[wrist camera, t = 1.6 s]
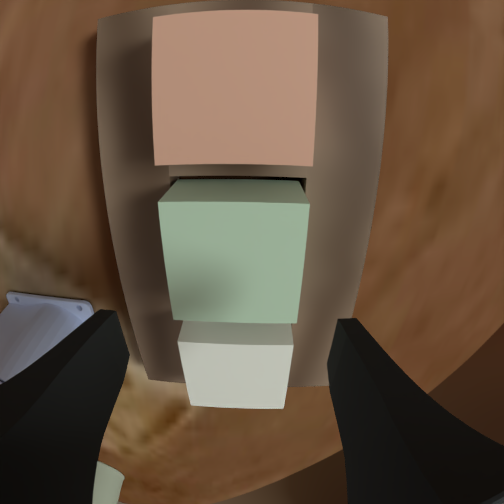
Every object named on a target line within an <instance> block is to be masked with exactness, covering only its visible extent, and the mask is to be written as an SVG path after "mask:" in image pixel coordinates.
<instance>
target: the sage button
mask: <svg viewBox="0 0 504 504" xmlns="http://www.w3.org/2000/svg"><path fill="white" fill-rule="evenodd" d="M309 208H310V203H309V201H308V199H307V197H306V195H305V193H304V191H303V189H302V187H301V185H300V183H299V181H289V180H255V179H180V180H177V181H176V182H175V183H174V184H173V186H172V187H171V188H170V189H169V190H168V191H167V192H166V193H165V194H164V196H163V197H162V198H161V199H160V200H159V201H158V209H159V219H160V228H161V237H162V245H163V253H164V261H165V268H166V276H167V282H168V289H169V296H170V302H171V308H172V314H173V320H187V321H207V322H232V323H297V317H298V309H299V302H300V294H301V285H302V277H303V268H304V259H305V250H306V240H307V230H308V219H309Z"/></svg>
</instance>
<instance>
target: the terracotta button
mask: <svg viewBox="0 0 504 504" xmlns="http://www.w3.org/2000/svg"><path fill="white" fill-rule="evenodd" d="M317 72H318V14H313V13H304V12H292V11H276V10H217V11H201V12H189V13H180V14H171V15H164V16H157V17H153V29H152V121H153V143H154V160H155V166H157V165H184V164H265V165H293V166H312V167H313V156H314V140H315V122H316V101H317Z"/></svg>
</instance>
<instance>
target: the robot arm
mask: <svg viewBox="0 0 504 504" xmlns="http://www.w3.org/2000/svg"><path fill="white" fill-rule="evenodd" d="M6 297H7V300H8V302H9V304H8V305H7V306H6V308H5V309H4V310H3V311H2V312H1V313H0V504H92V502H93V490H94V481H95V474H96V468H97V462H98V457H99V452H100V447H101V443H102V439H103V436H104V432H105V430H106V427H107V424H108V421H109V419H110V416H111V413H112V411H113V408H114V405H115V403H116V400H117V397H118V395H119V392H120V389H121V387H122V384H123V381H124V377H125V373H126V369H127V365H128V361H129V356H130V354H129V351H128V348H127V345H126V342H125V339H124V336H123V332H122V329H121V326H120V322H119V319H118V316H117V312H116V311H113V310H103V309H100V310H99V311H97V312H96V313H94V311H93V308H92V306H91V304H90V303H89V302H88V301H84V300H75V299H65V298H56V297H48V296H40V295H32V294H24V293H17V292H8V293H7V294H6ZM80 306H81V307H80ZM327 370H328V380H329V388H330V394H331V398H332V402H333V407H334V411H335V415H336V419H337V424H338V428H339V432H340V437H341V441H342V446H343V451H344V457H345V467H346V478H347V495H348V504H502V503H504V446H503V445H501V444H499V443H497V442H495V441H493V440H491V439H490V438H488V437H486V436H484V435H482V434H481V433H479V432H477V431H476V430H474V429H472V428H471V427H469V426H468V425H466V424H465V423H463V422H462V421H461V420H459V419H458V418H456V417H455V416H453V415H452V414H451V413H449V412H448V411H447V410H445V409H444V408H443V407H442V406H440V405H439V404H438V403H437V402H436V401H434V400H433V399H432V398H431V397H430V396H428V395H427V394H426V393H425V392H424V391H423V390H422V389H421V388H420V387H419V386H418V385H417V384H416V383H415V382H414V381H413V380H412V379H411V378H409V377H408V376H407V375H406V374H405V373H404V371H403V370H402V369H401V368H400V367H399V366H398V365H397V364H396V363H395V362H394V361H393V360H392V359H391V358H390V356H389V355H388V354H387V353H386V352H385V351H384V350H383V349H382V347H381V346H380V345H379V344H378V343H377V342H376V340H375V339H374V338H373V337H372V336H371V335H370V333H369V332H368V331H367V330H366V329H365V328H364V326H363V325H362V324H361V323H360V322H359V321H358V320H357V318H342V319H338V320H337V324H336V328H335V332H334V337H333V341H332V345H331V349H330V352H329V356H328V360H327Z"/></svg>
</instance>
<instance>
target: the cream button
mask: <svg viewBox="0 0 504 504" xmlns="http://www.w3.org/2000/svg"><path fill="white" fill-rule="evenodd" d="M177 342H178V347H179V352H180V357H181V362H182V367H183V372H184V376H185V381H186V386H187V390H188V395H189V399H190V403H191V405H196V406H209V407H225V408H256V409H283V408H284V403H285V397H286V391H287V385H288V379H289V372H290V366H291V359H292V353H293V346H294V345H293V336H292V328H291V323H232V322H207V321H187V320H183V324H182V327H181V331H180V334H179V338H178V341H177Z"/></svg>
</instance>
